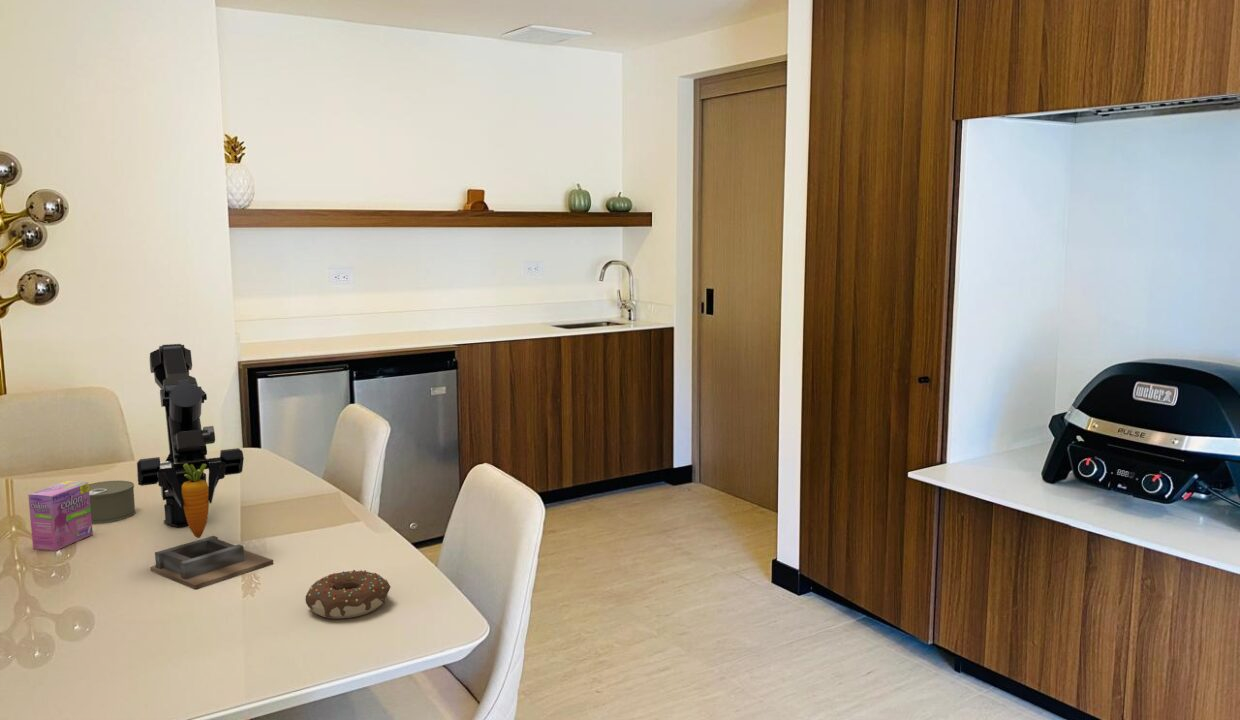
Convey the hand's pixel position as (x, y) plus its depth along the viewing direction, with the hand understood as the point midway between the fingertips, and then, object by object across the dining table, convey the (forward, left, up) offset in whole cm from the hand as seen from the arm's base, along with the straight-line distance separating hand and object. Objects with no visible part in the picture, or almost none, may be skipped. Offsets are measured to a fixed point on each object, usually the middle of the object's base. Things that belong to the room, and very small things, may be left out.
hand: (196, 504), depth 179 cm
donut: (-6, +37, -14) cm, 40 cm away
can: (-6, -50, -13) cm, 52 cm away
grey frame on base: (-2, 0, -13) cm, 13 cm away
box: (+8, -39, -13) cm, 42 cm away
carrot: (-1, -1, -7) cm, 7 cm away
